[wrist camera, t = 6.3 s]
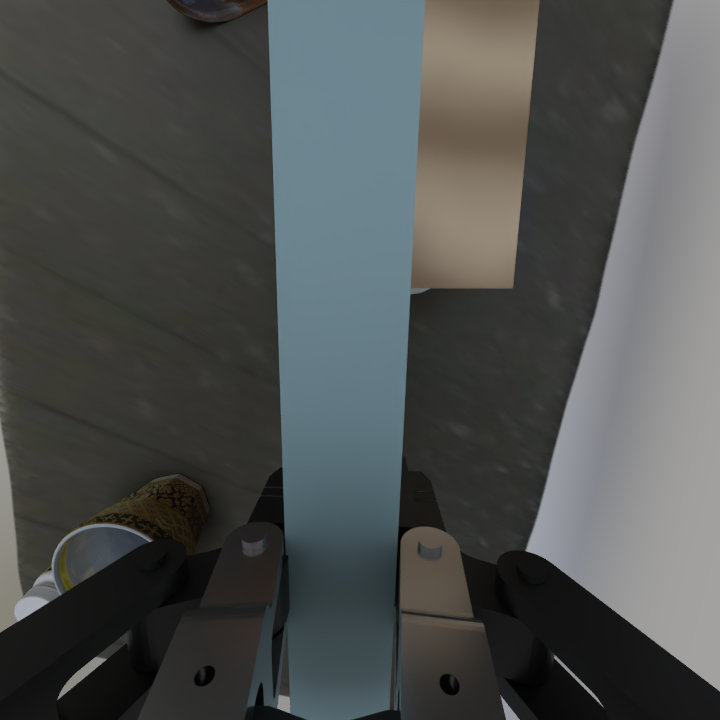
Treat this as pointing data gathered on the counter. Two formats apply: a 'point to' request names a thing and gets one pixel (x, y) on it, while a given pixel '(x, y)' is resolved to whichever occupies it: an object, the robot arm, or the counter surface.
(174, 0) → the tin
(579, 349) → the counter surface
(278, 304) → the bar
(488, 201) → the wooden bookend
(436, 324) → the counter surface
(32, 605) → the supplement bottle
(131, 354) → the counter surface
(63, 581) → the ceramic cup
